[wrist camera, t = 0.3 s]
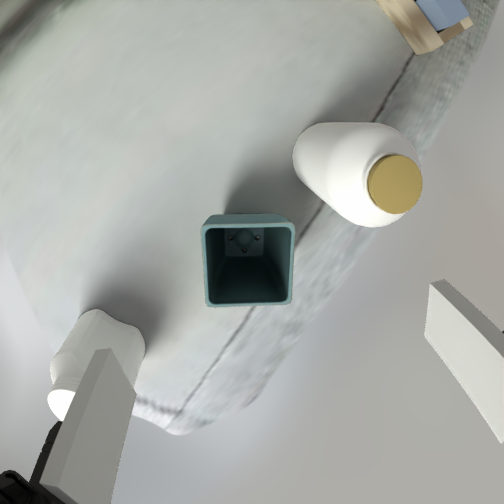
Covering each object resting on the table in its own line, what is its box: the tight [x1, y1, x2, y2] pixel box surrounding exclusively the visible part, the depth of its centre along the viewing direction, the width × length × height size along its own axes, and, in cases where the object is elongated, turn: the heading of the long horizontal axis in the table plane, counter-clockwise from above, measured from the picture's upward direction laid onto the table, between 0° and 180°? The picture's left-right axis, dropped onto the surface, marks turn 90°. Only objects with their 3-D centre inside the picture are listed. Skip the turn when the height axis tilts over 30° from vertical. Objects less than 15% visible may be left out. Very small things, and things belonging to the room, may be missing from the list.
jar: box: [48, 309, 145, 421], centre depth 37 cm, size 12×10×15 cm
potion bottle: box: [292, 122, 422, 228], centre depth 28 cm, size 8×8×18 cm
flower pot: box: [201, 214, 296, 308], centre depth 35 cm, size 9×9×9 cm
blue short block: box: [415, 0, 470, 31], centre depth 25 cm, size 4×4×5 cm
